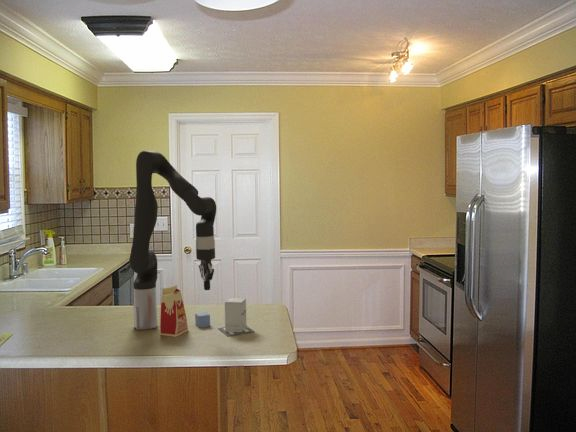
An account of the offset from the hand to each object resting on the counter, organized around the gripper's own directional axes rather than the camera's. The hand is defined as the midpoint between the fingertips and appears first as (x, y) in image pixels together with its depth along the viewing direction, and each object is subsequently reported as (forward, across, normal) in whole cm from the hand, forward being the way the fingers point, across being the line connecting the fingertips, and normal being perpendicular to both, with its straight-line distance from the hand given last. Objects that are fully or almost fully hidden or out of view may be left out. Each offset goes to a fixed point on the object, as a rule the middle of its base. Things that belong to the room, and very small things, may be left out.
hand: (207, 289), depth 210 cm
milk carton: (+19, -10, -12) cm, 25 cm away
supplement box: (+19, 0, +12) cm, 22 cm away
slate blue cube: (+19, -14, +2) cm, 23 cm away
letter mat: (+19, 0, +12) cm, 22 cm away
